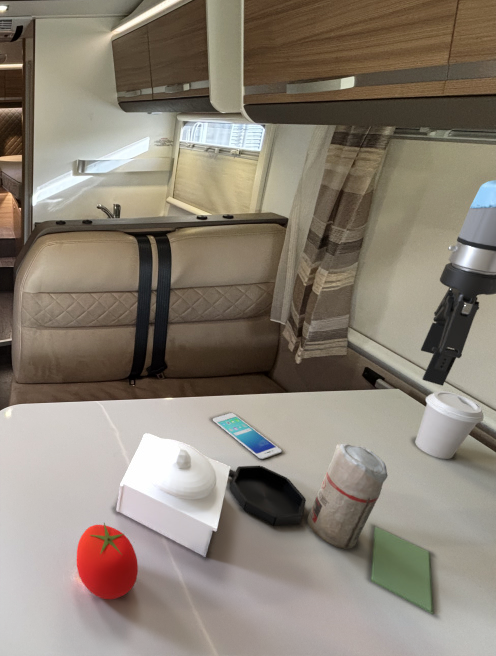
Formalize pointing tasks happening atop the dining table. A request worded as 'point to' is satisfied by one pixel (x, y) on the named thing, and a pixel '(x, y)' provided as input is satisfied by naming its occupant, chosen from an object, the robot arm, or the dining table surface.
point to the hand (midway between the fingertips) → (430, 366)
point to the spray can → (347, 495)
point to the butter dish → (174, 491)
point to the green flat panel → (402, 569)
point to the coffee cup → (447, 423)
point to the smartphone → (247, 436)
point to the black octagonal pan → (267, 495)
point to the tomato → (106, 562)
